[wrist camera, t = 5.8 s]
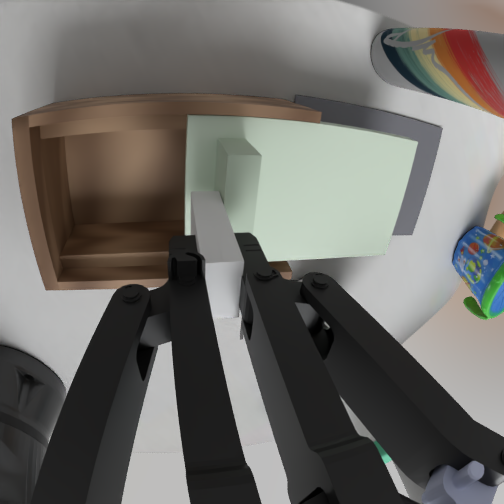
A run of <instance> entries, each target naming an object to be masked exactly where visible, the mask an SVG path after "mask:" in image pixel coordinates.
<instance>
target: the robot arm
mask: <svg viewBox="0 0 504 504" xmlns="http://www.w3.org/2000/svg"><path fill="white" fill-rule="evenodd" d="M167 265H168V280H167V282H166V283H165V284H164V285H163V286H161V287H159V288H157V289H154V290H150V291H149V290H148V289H147V288H146V287H144V286H143V285H139V284H128V285H124V286H122V287H120V288H119V289H117V290H116V292H115V293H114V294H113V296H112V298H111V300H110V302H109V304H108V306H107V308H106V310H105V312H104V314H103V316H102V318H101V320H100V322H99V324H98V326H97V328H96V330H95V332H94V334H93V337H92V339H91V341H90V343H89V345H88V347H87V349H86V352H85V354H84V356H83V358H82V361H81V363H80V365H79V367H78V370H77V372H76V374H75V377H74V379H73V381H72V384H71V386H70V389H69V391H68V393H67V396H66V390H65V387H64V385H63V383H62V382H61V380H60V379H59V378H58V377H57V376H56V375H55V374H54V373H53V372H52V371H51V370H50V369H49V368H48V367H46V366H45V365H44V364H42V363H41V362H39V361H38V360H36V359H34V358H32V357H31V356H29V355H27V354H25V353H22V352H20V351H17V350H15V349H12V348H8V347H4V346H0V504H121V501H122V495H123V491H124V485H125V481H126V476H127V471H128V466H129V461H130V456H131V452H132V448H133V443H134V439H135V435H136V430H137V426H138V422H139V418H140V414H141V410H142V406H143V402H144V398H145V394H146V390H147V386H148V382H149V379H150V375H151V371H152V368H153V364H154V360H155V357H156V353H157V350H158V345H161V344H164V343H167V342H170V341H172V355H173V368H174V379H175V390H176V399H177V409H178V417H179V425H180V433H181V441H182V448H183V455H184V461H185V468H186V479H187V486H188V492H189V497H190V503H191V504H261V500H260V497H259V493H258V490H257V486H256V483H255V480H254V477H253V474H252V471H251V469H250V467H249V466H248V465H247V463H246V461H245V458H244V454H243V450H242V446H241V442H240V438H239V434H238V430H237V426H236V422H235V418H234V414H233V410H232V405H231V401H230V397H229V392H228V388H227V384H226V379H225V375H224V370H223V365H222V361H221V356H220V351H219V347H218V342H217V337H216V332H215V327H214V322H213V319H222V318H235V317H239V310H241V314H242V321H241V331H240V339H243V334H244V337H245V341H246V344H247V348H248V351H249V355H250V358H251V362H252V365H253V369H254V372H255V375H256V379H257V382H258V385H259V389H260V392H261V396H262V399H263V402H264V405H265V409H266V412H267V415H268V419H269V422H270V425H271V428H272V431H273V435H274V438H275V441H276V444H277V447H278V450H279V454H280V457H281V460H282V463H283V466H284V469H285V472H286V476H287V481H288V495H289V499H290V502H291V504H420V503H418V502H416V501H414V500H412V499H410V498H408V497H405V496H404V495H402V494H400V493H398V491H397V489H396V487H395V484H394V483H393V480H392V478H391V476H390V474H389V472H388V470H387V467H386V465H385V463H384V461H383V459H382V457H381V455H380V453H379V451H378V449H377V447H376V445H375V444H374V442H373V441H372V440H371V439H370V438H368V437H364V436H360V435H359V434H358V433H357V431H356V430H355V427H354V425H353V423H352V421H351V419H350V417H349V415H348V412H347V410H346V408H345V406H344V404H343V402H342V400H341V398H342V399H343V400H344V401H345V403H346V404H347V405H348V406H349V408H350V409H351V410H352V411H353V413H354V414H355V415H356V416H357V418H358V419H359V420H360V421H361V422H362V424H363V425H364V426H365V427H366V429H367V430H368V431H369V432H370V434H371V435H372V436H373V437H374V438H375V440H376V441H377V442H378V443H379V444H380V446H381V447H382V448H383V449H384V451H385V452H386V453H387V454H388V455H389V457H390V458H391V459H392V460H393V461H394V463H395V464H396V465H397V466H398V467H399V469H400V470H401V471H402V472H403V473H404V474H405V475H406V476H407V477H408V478H409V479H411V480H412V481H413V482H414V483H415V484H417V485H418V486H420V487H421V488H423V489H425V490H426V491H425V492H424V493H423V494H422V497H421V499H422V502H423V504H492V501H493V498H494V495H495V493H496V490H497V487H498V485H499V484H501V483H502V482H504V437H503V436H501V435H499V434H497V433H495V432H494V431H492V430H490V429H488V428H487V427H485V426H483V425H481V424H480V423H478V422H476V421H474V420H473V419H472V418H471V417H470V416H469V415H468V414H467V412H466V411H465V410H464V409H463V408H462V407H461V406H460V405H459V404H458V403H457V402H456V401H455V400H454V399H453V398H452V397H451V396H450V394H448V392H447V391H446V390H445V389H444V388H443V387H442V386H441V385H440V384H439V383H438V382H437V381H436V380H435V379H434V378H433V377H432V376H431V375H430V374H429V373H428V372H427V371H426V370H425V369H424V368H423V367H422V366H421V365H420V364H419V363H418V362H417V361H416V360H415V359H414V358H413V357H412V356H411V355H410V354H409V353H408V352H407V351H406V350H405V349H404V348H403V347H402V346H401V345H400V344H399V343H398V342H397V341H396V340H395V339H394V338H393V337H392V336H391V335H390V334H389V333H388V332H387V331H386V330H385V329H384V328H383V327H382V326H381V325H380V324H379V323H378V322H377V321H376V320H375V319H374V318H373V317H372V316H371V315H370V314H369V313H368V312H367V311H366V310H365V309H364V308H363V307H362V306H361V305H360V304H359V303H358V302H356V301H355V300H354V299H353V298H352V297H351V296H350V295H349V294H348V293H347V292H346V291H345V290H344V289H343V288H342V287H341V286H340V285H339V284H338V283H337V282H335V281H334V280H333V279H332V278H331V277H329V276H328V275H325V274H322V273H316V272H314V273H309V274H306V275H305V276H304V277H303V279H302V282H300V281H293V280H288V279H284V278H283V277H282V275H281V274H280V272H279V271H278V270H276V269H275V268H273V267H270V265H269V263H268V261H267V259H266V257H265V254H264V252H263V251H262V248H261V246H260V244H259V242H258V240H257V238H256V237H255V236H254V235H252V234H251V233H250V232H244V233H234V232H233V229H232V226H231V223H230V221H229V218H228V215H227V212H226V210H225V207H224V204H223V201H222V198H221V196H220V193H219V191H191V235H180V236H173V237H172V238H171V239H170V241H169V258H168V261H167ZM325 322H326V323H327V324H328V326H329V327H330V328H329V327H327V326H326V325H325V324H324V323H325ZM340 396H341V397H340ZM53 429H54V430H53ZM52 431H53V433H52ZM51 433H52V436H51V438H50V441H49V437H50V435H51ZM48 442H49V444H48Z"/></svg>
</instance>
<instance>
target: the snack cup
mask: <svg viewBox="0 0 504 504" xmlns="http://www.w3.org/2000/svg"><path fill="white" fill-rule="evenodd" d="M495 218H496V219H497V220H500V221H501V222H503V223H504V214H498V215H495ZM452 263H453V265H454V267H455V269H456V271H457V272H458V273H459V275H460V276H461V277H462V279H463V280H464V282H465V283H466V284H467V286H468V287H469V289H470V290H471V292H472V293H473V294H474V295H475V296H476V297H477V299H478V301H479V303H480V305H481V309H482V310H481V309H480V307H479V305H478V304H477V302H476V300H475V299H474V298H473V297H467V298H465V299H464V302H463V303H464V304H465V307H466V308H467V309H468V310H469V311H470V312H472V313H473V314H474V315H476V316H477V317H479V318H481V319H485V320H487V319H489V318H494V317H497V316H498V315H500V314H501V313H502V312H504V239H503V238H501V237H499V236H497V235H495V234H494V233H492V232H490V231H489V230H486V229H484V228H482V227H478V226H475V227H474V228H473V229H471V230H470V231H469V232H467V233H466V234H465V235H464V237H463V238H462V239H461V240H460V241H459V242H458V246H457V248H456V250H455V254H454V260H453V262H452Z"/></svg>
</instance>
